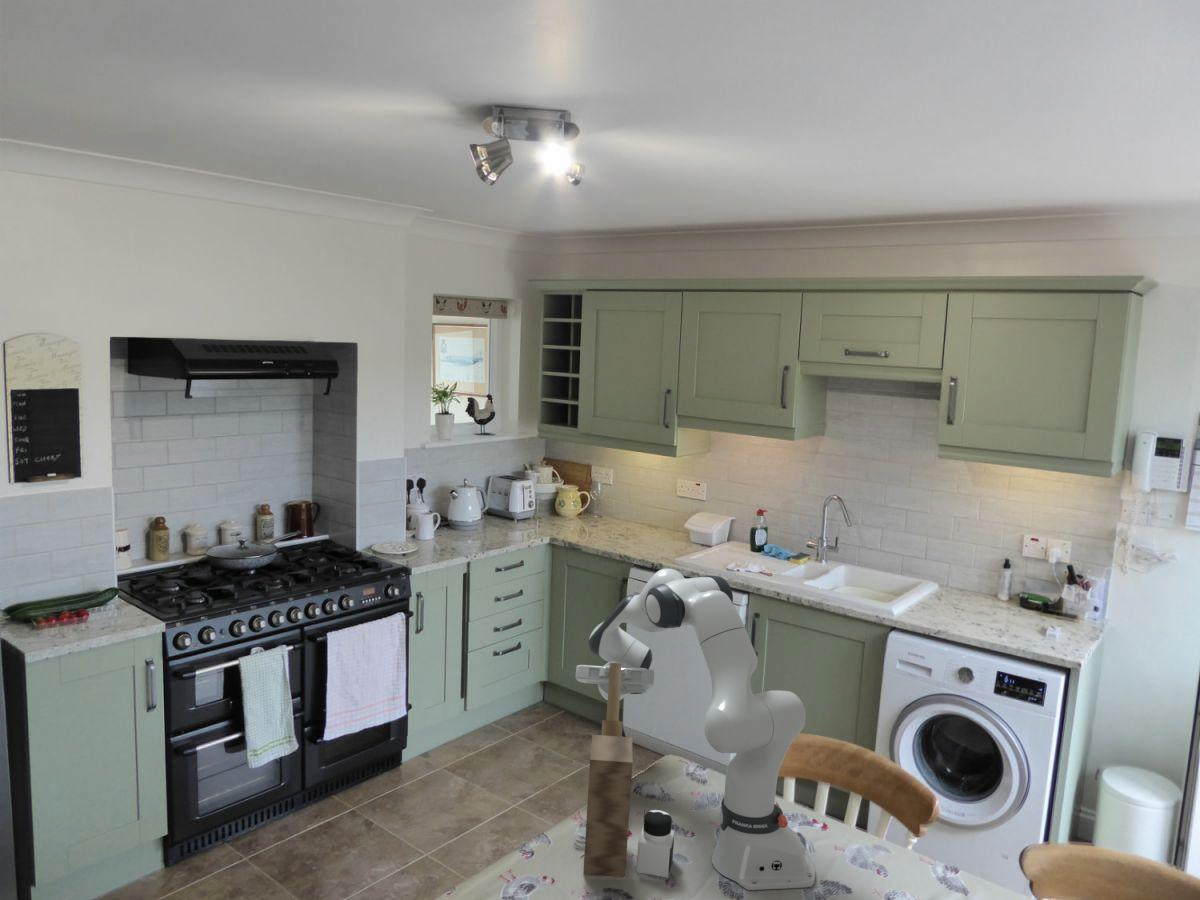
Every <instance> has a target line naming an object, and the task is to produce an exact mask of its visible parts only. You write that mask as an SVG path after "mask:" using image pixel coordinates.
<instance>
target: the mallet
mask: <svg viewBox="0 0 1200 900" xmlns="http://www.w3.org/2000/svg"><path fill="white" fill-rule="evenodd" d="M621 668H622V663H610V669H609V685H608V700H607V702H606V703H607V704H606V720H605V719H603V720H602V722H601V735H604V736H619V737H623V723H624V722H623V721H620V720H619V718H620V703H621V702H620V701H621V700H620V686H621Z"/></svg>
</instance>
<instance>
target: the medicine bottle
mask: <svg viewBox="0 0 1200 900" xmlns="http://www.w3.org/2000/svg"><path fill="white" fill-rule="evenodd" d="M672 822H673V818H672V816H671V814H669V813H668V812H666V811H663V810H660V809H659V810H658V809H654V810H653V809H652V810H649V811H647V812H646V813H645V814H644V816H643V826H642V829H641V831H640V836H639V839H638V842H637V859H636V872H637V873H639V874H645V875H651V876H657V877H662V878H667V879H668V878H669V877H670V873H671V869H672V864H673V859H674V846H675V831H674V829H672Z"/></svg>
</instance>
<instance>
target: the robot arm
mask: <svg viewBox="0 0 1200 900" xmlns="http://www.w3.org/2000/svg"><path fill="white" fill-rule="evenodd" d="M624 623H625V624H628V625H631V626H634V627H636V628H639V629H641V630H642V631H645V632H647V633H648V632H650V633H658V632H659V633H660V632H662V631H665V630H668V629H675V628H681V627H683V626H692V627H693V628H694V631H695V634H696V638H697V640H698V643H699V646H700V649H701V651H702V654H703V657H704V660H705V662H706V666H707V668H708V671H709V675H710V679H711V688H712V693H711V702H710V705H709V708H708V710H707V711H706V713H705V715H704V718H703V733H704V736H705V739H706V741H707V743H708V744H709V746H710V747H711V748H712V749H713V750H714V751H716V752H718V753H721V754H735V755H734V756H733V758H731V760H729V763H728V765H727V767H726V770H725V778H724V779H725V782H724V795H723V798H722V800H721V806H720V812H719V826H720V829H719V833H718V838H717V842H716V845H715V849H714V851H713V854H712V856H711V862H712V865H713V868H714V869H715V870H716V871H717V872H718V873H720V874H721V875H722V876H724V877H726V878H727V879H730V880H731V881H734V882H736V883H737V884H738V885H740V886H741V887H742V888H744V889H746V890H747V891H748V890H749V891H755V890H756V891H759V890H762V891H763V890H779V889H780V890H781V889H783V890H784V889H798V888H799V889H801V888H803V889H804V888H811V887H812V886H813V885H814V884H815V881H816V870H815V867H814V864H813V862H812V860H811V857H809V855H808V854H807V853H806V852H805V848H804V844H803V843H802V840H801V838H800V836H799V835H798V833H796V831H794V830H793V829H792V828H790V827H789V826H788V825H789V822H788V820H787V816H786V815H784V812H783V810H782V808H781V807H780V805H779V803H778V802H775V801H776V792H777V783H778V777H779V772H780V770H781V767H782V764H783V762H784V759H785V757H786V754H787V752H788V751H789V748H790V746H791V745H792V743H793V741H794V740H795V739H796V737H797V736H798V735H799V733H800V732H801V731H802V730H803V729H804V728H805V725H806V720H807V719H806V718H807V716H806V715H807V714H806V708H805V706H804V703H803V702H802V700H801V698H799V696H798V695H797V694H795V693H794V692H792V691H789V690H779V689H778V690H775V689H773V690H767V691H763V692H758V693H755V694H754V693H753V690H752V686H751V676H752V675H753V673H754V672H755V671H756V669H757V667H758V661H759V660H758V656H757V653H756V651H755V648H754V645H753V644H752V642H751V638H750V636H749V633H748V631H747V629H746V627H745V625H744V621H743V620H742V618H741V616H740V613H739V611H738V610H737V608H736V606H735V604H734V594H733V591H732V588H731V586H730V584H729V583H728V582H727V580H726V579H725V578H724V577H722V576H718V575H703V576H700V577H690V578H685V577H684V575H683V574H682V573H681V572H679V571H678V570H676V569H673V568H662V569H660V570H657V571H656V572H655V573H654V574H653V575H652V576H651V578H650V579H649V580H648V581H647V582H646V583H645V586H644V587H643V588H642V590H641V593H638V594H628V595H627V596H625V597H624V598H623V599H621V601H620V602H619V603H618V604H617V605H616V606H615V607H614V608H613V610H612V611H611V612H610V613H609V614H608V616H607V617H606V618H605V619H604V620H603V621H602V622H601V623H599V624H598V625H597V626H596V627H594V629H593V630H592V632H591V633H590V636H589V637H588V639H589V640H588V646H589V649H590V652H591V653H592V654H594V655H595V656H597V657H599V658H601V659H603V660H604V661H605V662H607V663H605V664H604V665H603V666H601V665H588V664H578V665H576V666H575V667H576V668H575V675H574V676H575V679H576V681H577V682H579V683H583V684H593V685H594V684H596V685H597V689H598V691H599V693H600V695H601V697H602V698H603V699H605V700H606V701H608V685H609V669H610V663H622V668H621V686H620V701H622V699H624V698H625V697H626V696H629V695H644V694H645V695H646V693H647V690H650V689H651V688H652V687H653V686H654V682H655V670H654V669H650V666H651V664H652V661H653V653H652V650H651V648H650V647H648V645H646V644H644V643H643V642H641V641H640V640H639V639H637V638H636V637H634V636H632V635H631V634H630V633H628V632H626V631H625V630H623V629H622V628H621V627H620V625H621V624H624Z"/></svg>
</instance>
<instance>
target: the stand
mask: <svg viewBox="0 0 1200 900" xmlns="http://www.w3.org/2000/svg"><path fill="white" fill-rule="evenodd" d="M591 736H592V738H591V745H590V746H591V747H590V757H589V769H588V770H589V771H588V789H587V803H586V804H587V806H586V809H587V810H586V822H585V823H586V824H585V825H586V826H585V837H584V838H585V841H584V854H583V855H584V856H583V857H584V858H583V873H582V875H584V876H585V875H586V876H595V877H596V876H598V877H609V876H610V878H611V877H612V878H615V877H616V878H623V877H625V878H626V871H627V870H626V868H627V855H628V854H627V853H628V842H629V841H628V840H629V839H628V838H629V820H630V811H631V810H630V807H631V794H632V793H631V792H632V777H633V776H632V775H633V758H634V757H633V737H631V736H622V737H619V736H604V735H602V734H592V735H591Z"/></svg>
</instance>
